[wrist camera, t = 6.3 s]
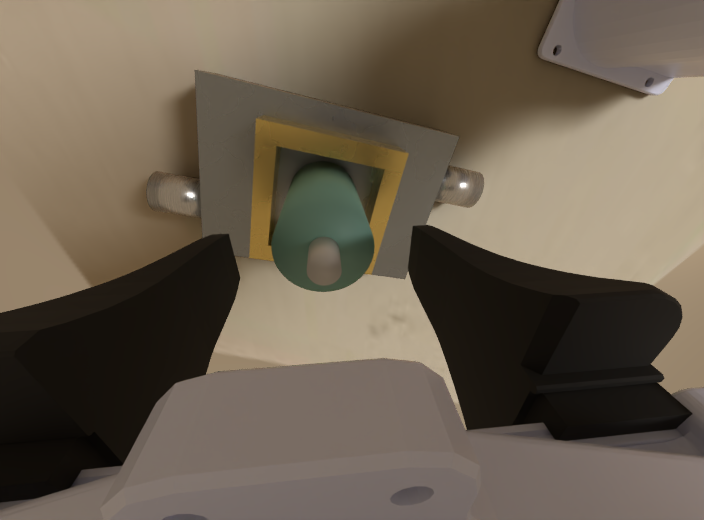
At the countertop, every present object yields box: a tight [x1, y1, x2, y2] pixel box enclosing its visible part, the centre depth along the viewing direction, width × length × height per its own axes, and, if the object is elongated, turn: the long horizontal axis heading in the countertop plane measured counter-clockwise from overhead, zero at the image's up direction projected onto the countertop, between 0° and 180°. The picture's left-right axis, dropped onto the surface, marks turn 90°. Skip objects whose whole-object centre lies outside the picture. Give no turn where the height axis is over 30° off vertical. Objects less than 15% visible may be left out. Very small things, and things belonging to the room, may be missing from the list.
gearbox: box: [146, 70, 484, 279], centre depth 17 cm, size 20×10×5 cm, turn 77°
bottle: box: [271, 161, 375, 292], centre depth 13 cm, size 4×4×8 cm
